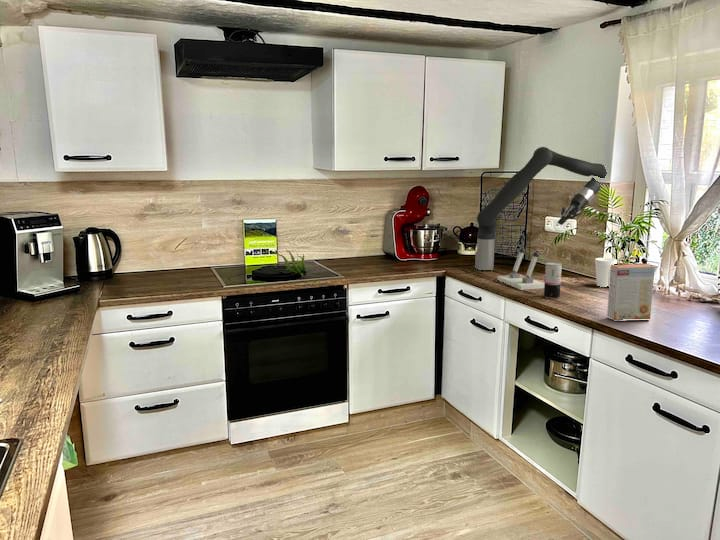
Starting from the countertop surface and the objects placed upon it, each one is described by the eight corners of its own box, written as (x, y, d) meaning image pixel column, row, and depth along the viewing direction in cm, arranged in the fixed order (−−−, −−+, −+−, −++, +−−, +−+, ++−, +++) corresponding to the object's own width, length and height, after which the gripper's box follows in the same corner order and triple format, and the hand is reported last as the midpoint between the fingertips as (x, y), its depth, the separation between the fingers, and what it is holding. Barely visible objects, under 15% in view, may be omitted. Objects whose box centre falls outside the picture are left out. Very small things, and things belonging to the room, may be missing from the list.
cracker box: (641, 316, 208) (646, 263, 204) (650, 321, 203) (656, 266, 198) (605, 317, 208) (610, 263, 204) (613, 322, 202) (618, 267, 198)
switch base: (520, 278, 277) (520, 270, 276) (545, 288, 256) (545, 279, 255) (497, 280, 274) (497, 272, 273) (520, 289, 253) (521, 281, 252)
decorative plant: (302, 268, 310) (301, 242, 307) (307, 279, 281) (306, 251, 279) (270, 269, 307) (269, 243, 304) (271, 280, 278) (270, 252, 275)
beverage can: (540, 296, 240) (542, 263, 237) (549, 294, 244) (551, 261, 241) (553, 299, 235) (555, 265, 232) (562, 297, 239) (564, 263, 236)
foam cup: (592, 287, 256) (594, 260, 254) (594, 283, 264) (596, 257, 262) (614, 289, 252) (616, 261, 249) (615, 285, 260) (617, 258, 257)
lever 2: (528, 277, 260) (537, 252, 259) (531, 279, 257) (541, 253, 256) (523, 276, 259) (533, 250, 258) (526, 277, 257) (536, 251, 255)
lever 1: (515, 273, 271) (524, 248, 270) (518, 274, 269) (527, 249, 267) (510, 271, 271) (519, 247, 269) (513, 272, 268) (522, 247, 267)
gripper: (570, 192, 277) (547, 217, 277) (587, 193, 265) (563, 219, 264) (578, 202, 280) (556, 227, 279) (595, 204, 267) (572, 230, 266)
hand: (559, 223), depth 271 cm, fingers closed
